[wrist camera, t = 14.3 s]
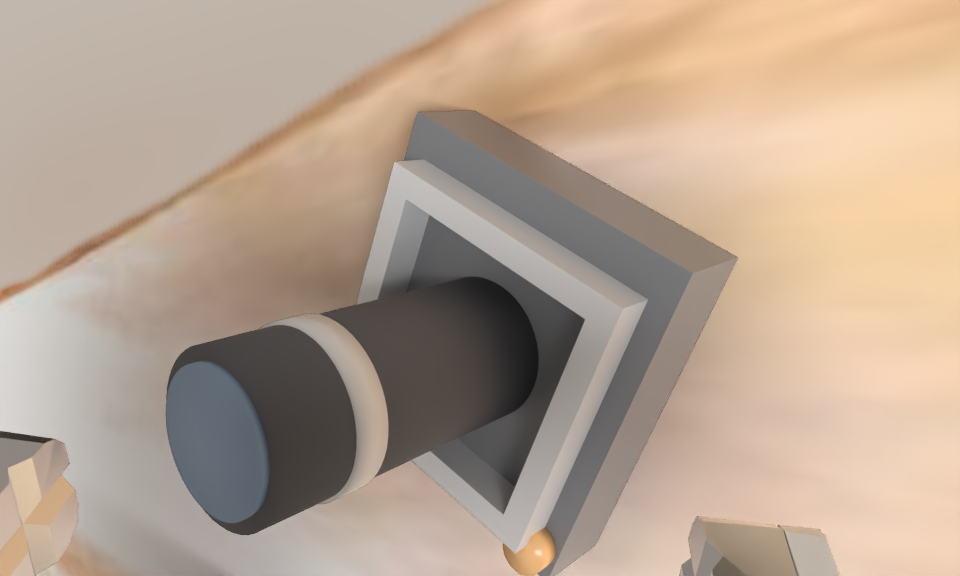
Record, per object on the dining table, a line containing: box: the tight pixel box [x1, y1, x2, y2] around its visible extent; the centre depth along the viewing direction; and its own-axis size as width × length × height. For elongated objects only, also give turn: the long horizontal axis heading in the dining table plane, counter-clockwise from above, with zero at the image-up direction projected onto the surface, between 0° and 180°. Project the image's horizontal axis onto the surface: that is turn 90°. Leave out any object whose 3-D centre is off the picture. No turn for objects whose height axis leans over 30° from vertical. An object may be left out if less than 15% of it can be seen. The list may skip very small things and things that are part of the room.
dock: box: [356, 111, 738, 576], centre depth 28 cm, size 12×11×4 cm
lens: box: [166, 277, 539, 535], centre depth 24 cm, size 5×5×10 cm
